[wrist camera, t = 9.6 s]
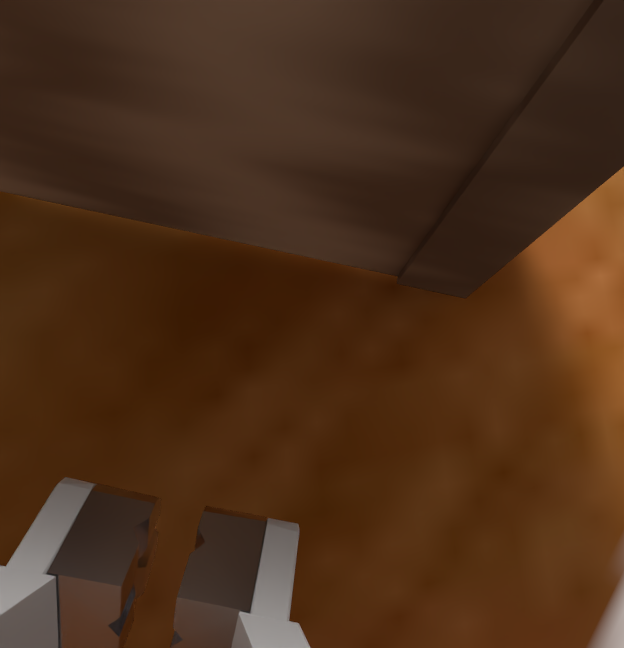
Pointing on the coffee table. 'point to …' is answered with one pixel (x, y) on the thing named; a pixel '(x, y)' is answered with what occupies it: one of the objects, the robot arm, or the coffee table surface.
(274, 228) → the wooden gate panel
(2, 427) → the coffee table surface
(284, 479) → the coffee table surface
